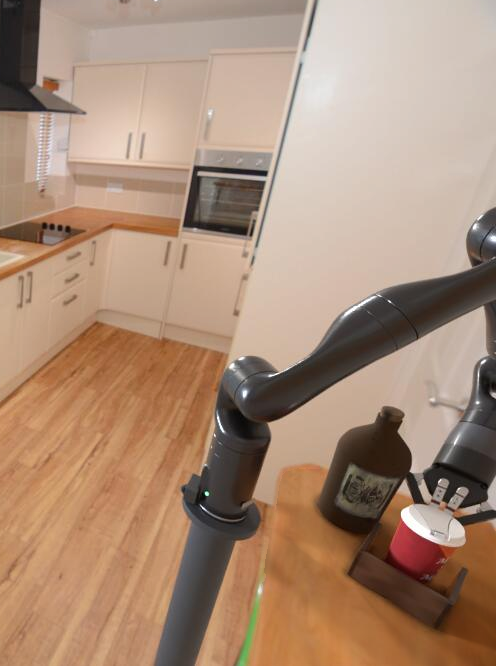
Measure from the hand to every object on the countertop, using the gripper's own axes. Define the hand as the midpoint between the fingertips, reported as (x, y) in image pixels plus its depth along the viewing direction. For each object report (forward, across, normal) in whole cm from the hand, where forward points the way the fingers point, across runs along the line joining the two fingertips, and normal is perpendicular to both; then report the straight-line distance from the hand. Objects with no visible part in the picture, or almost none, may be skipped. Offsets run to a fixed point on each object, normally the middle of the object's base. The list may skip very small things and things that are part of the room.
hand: (425, 536), depth 81 cm
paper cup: (+9, 0, -2) cm, 9 cm away
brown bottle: (+3, -11, +3) cm, 12 cm away
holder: (+10, 0, -4) cm, 10 cm away
